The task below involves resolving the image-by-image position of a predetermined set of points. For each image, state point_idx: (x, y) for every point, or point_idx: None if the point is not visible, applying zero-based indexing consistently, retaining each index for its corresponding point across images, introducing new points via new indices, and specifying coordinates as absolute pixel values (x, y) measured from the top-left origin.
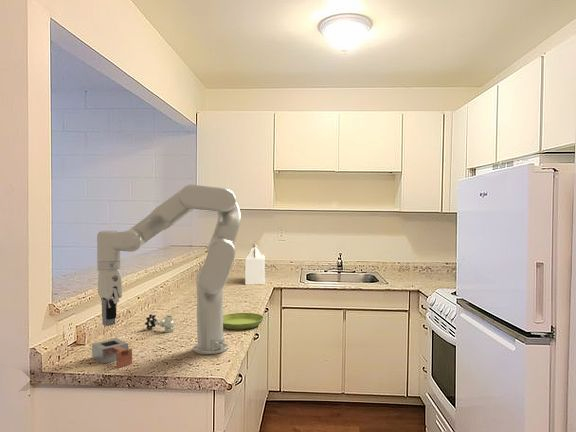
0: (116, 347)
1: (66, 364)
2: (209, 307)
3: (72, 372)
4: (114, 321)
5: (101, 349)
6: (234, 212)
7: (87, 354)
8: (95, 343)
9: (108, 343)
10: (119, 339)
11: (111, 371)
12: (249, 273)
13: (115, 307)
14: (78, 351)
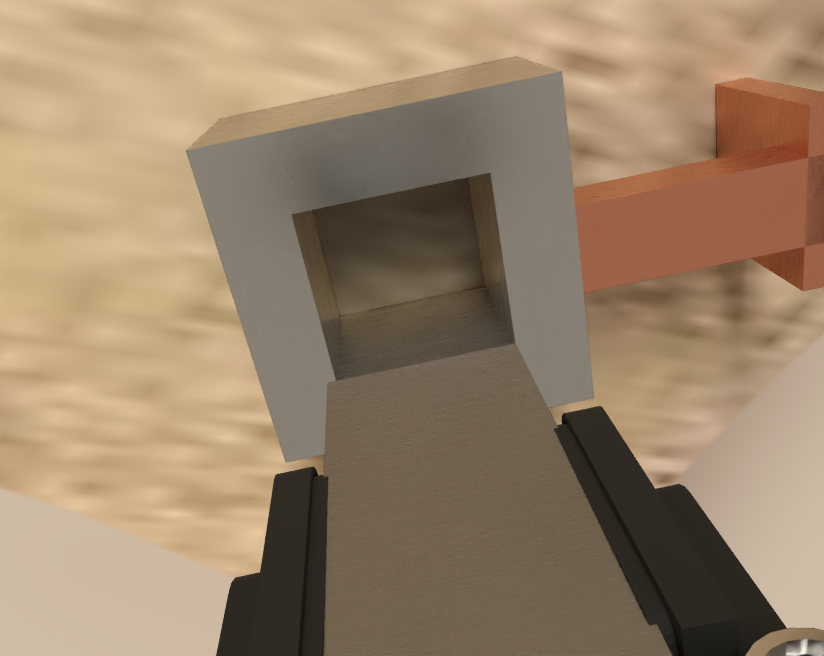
0: (631, 251)
1: None
2: None
3: None
4: (529, 386)
5: (557, 400)
6: None
7: (155, 401)
8: (297, 429)
9: (311, 280)
10: (275, 132)
11: (793, 297)
12: None
13: (726, 625)
14: (3, 459)
